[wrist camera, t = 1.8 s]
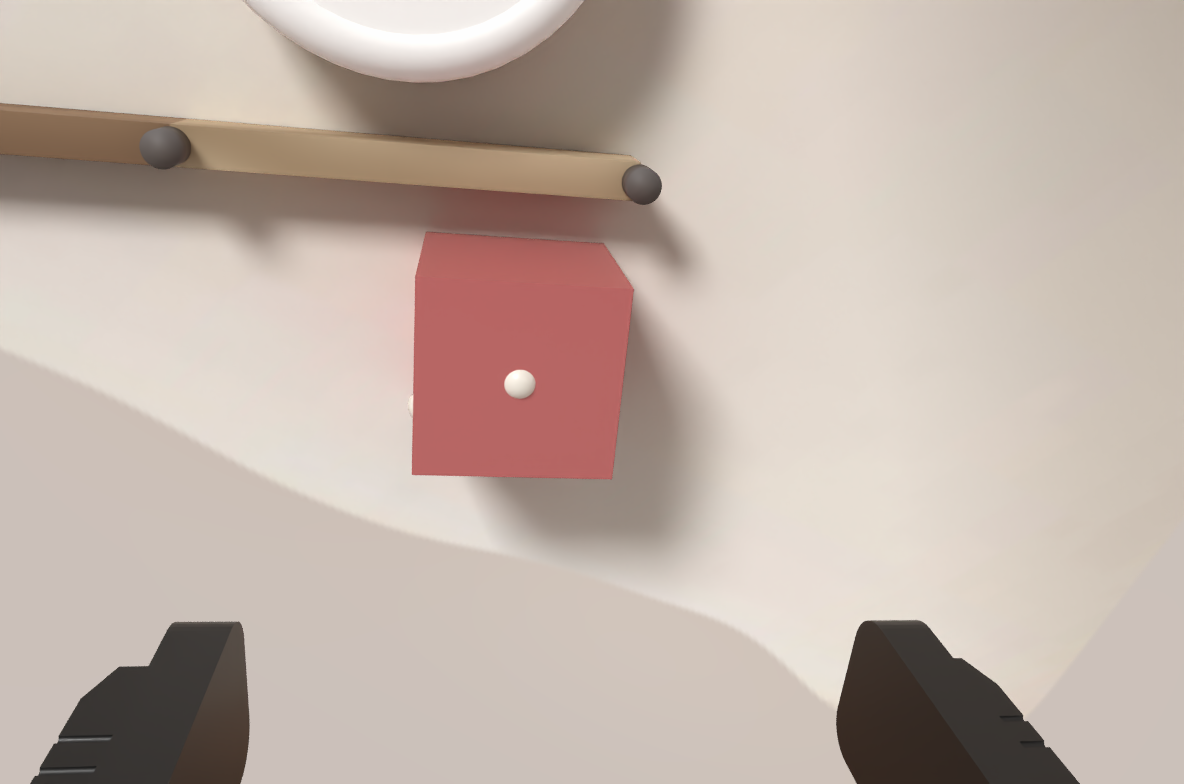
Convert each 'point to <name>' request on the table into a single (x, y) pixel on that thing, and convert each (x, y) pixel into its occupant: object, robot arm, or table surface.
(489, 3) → the white plate stack
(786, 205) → the table surface
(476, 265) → the die
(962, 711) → the robot arm
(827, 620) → the table surface
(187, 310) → the table surface
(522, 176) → the rails
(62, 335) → the table surface
